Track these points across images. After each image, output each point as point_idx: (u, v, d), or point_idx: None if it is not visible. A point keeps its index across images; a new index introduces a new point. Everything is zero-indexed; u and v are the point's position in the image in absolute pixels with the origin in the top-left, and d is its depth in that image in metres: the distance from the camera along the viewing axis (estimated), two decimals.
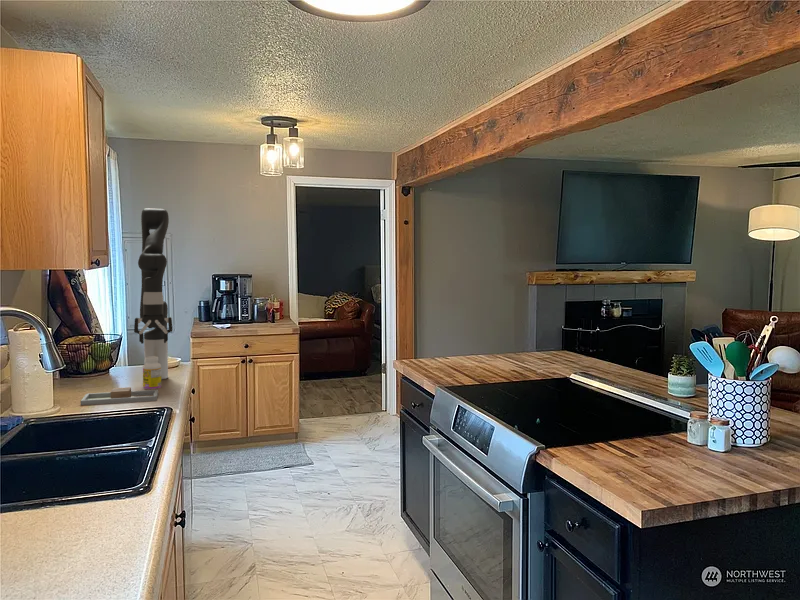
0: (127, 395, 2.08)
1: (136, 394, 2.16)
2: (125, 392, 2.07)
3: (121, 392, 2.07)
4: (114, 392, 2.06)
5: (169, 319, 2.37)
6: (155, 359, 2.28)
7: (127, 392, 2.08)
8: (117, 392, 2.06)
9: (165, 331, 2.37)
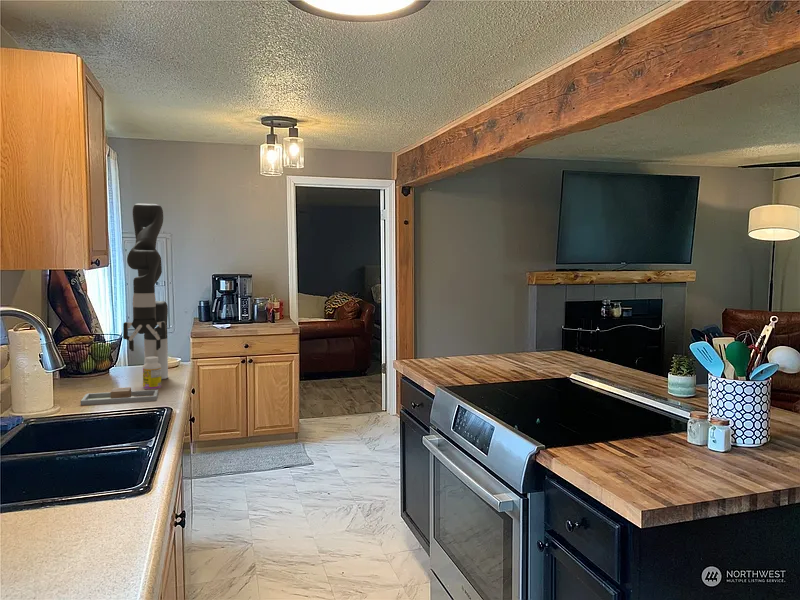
0: (127, 395, 2.08)
1: (136, 394, 2.16)
2: (125, 392, 2.07)
3: (121, 392, 2.07)
4: (114, 392, 2.06)
5: (162, 324, 2.11)
6: (155, 359, 2.28)
7: (127, 392, 2.08)
8: (117, 392, 2.06)
9: (157, 337, 2.11)
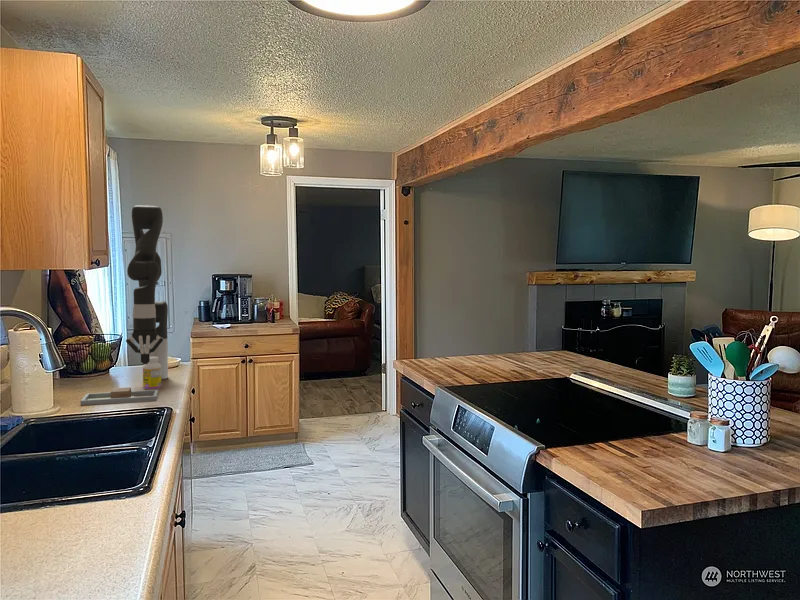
0: (127, 395, 2.08)
1: (136, 394, 2.16)
2: (125, 392, 2.07)
3: (121, 392, 2.07)
4: (114, 392, 2.06)
5: (160, 340, 2.11)
6: (155, 359, 2.28)
7: (127, 392, 2.08)
8: (117, 392, 2.06)
9: (146, 351, 2.10)
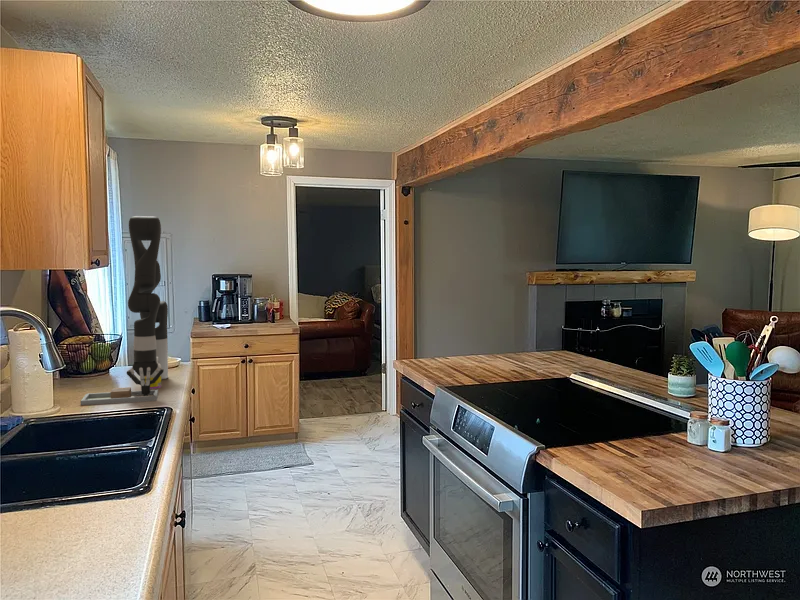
0: (127, 395, 2.08)
1: (136, 394, 2.16)
2: (125, 392, 2.07)
3: (121, 392, 2.07)
4: (114, 392, 2.06)
5: (160, 371, 2.12)
6: None
7: (127, 392, 2.08)
8: (117, 392, 2.06)
9: (147, 383, 2.11)
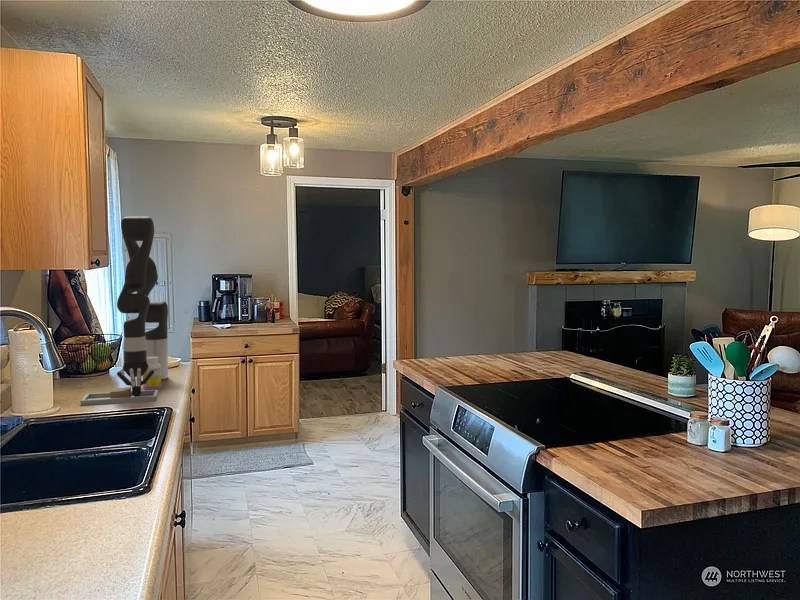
0: (127, 395, 2.08)
1: None
2: (125, 392, 2.07)
3: (121, 392, 2.07)
4: (114, 392, 2.06)
5: (151, 372, 2.11)
6: (155, 359, 2.28)
7: (127, 392, 2.08)
8: (117, 392, 2.06)
9: (137, 384, 2.10)
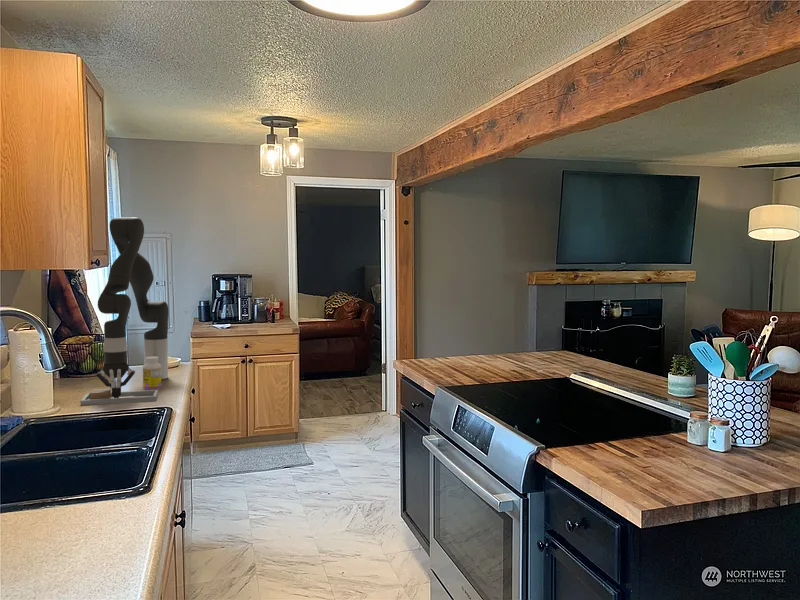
0: (106, 396, 2.05)
1: (136, 394, 2.16)
2: (104, 393, 2.05)
3: (100, 393, 2.05)
4: (93, 393, 2.04)
5: (131, 373, 2.09)
6: (155, 359, 2.28)
7: (106, 393, 2.05)
8: (96, 393, 2.04)
9: (117, 385, 2.08)
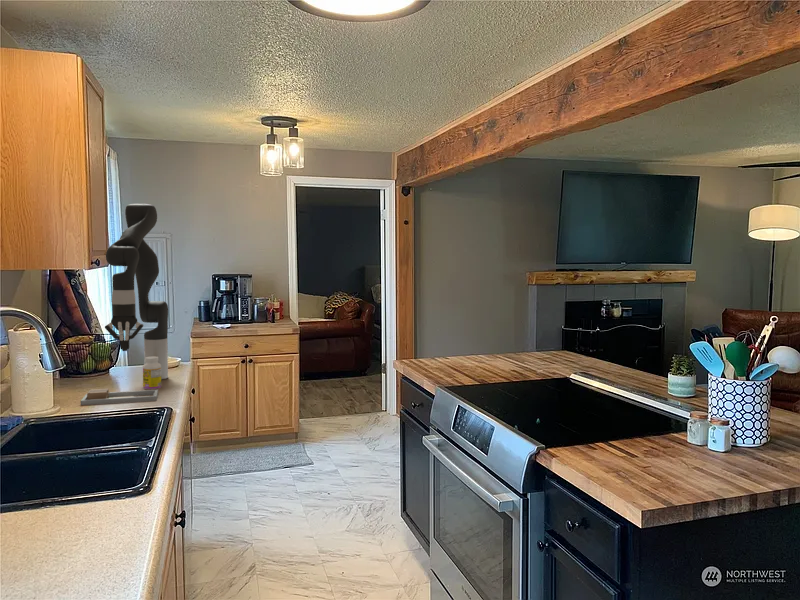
0: (104, 396, 2.05)
1: (136, 394, 2.16)
2: (102, 393, 2.05)
3: (98, 393, 2.04)
4: (91, 393, 2.04)
5: (140, 326, 2.09)
6: (155, 359, 2.28)
7: (104, 393, 2.05)
8: (94, 393, 2.04)
9: (126, 338, 2.08)
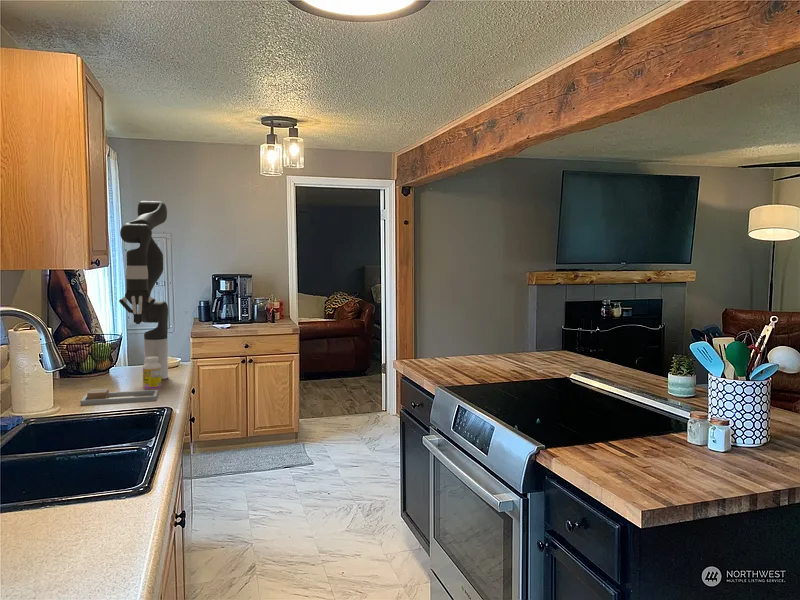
0: (104, 396, 2.05)
1: (136, 394, 2.16)
2: (102, 393, 2.05)
3: (98, 393, 2.04)
4: (91, 393, 2.04)
5: (152, 300, 2.19)
6: (155, 359, 2.28)
7: (104, 393, 2.05)
8: (94, 393, 2.04)
9: (139, 311, 2.18)
